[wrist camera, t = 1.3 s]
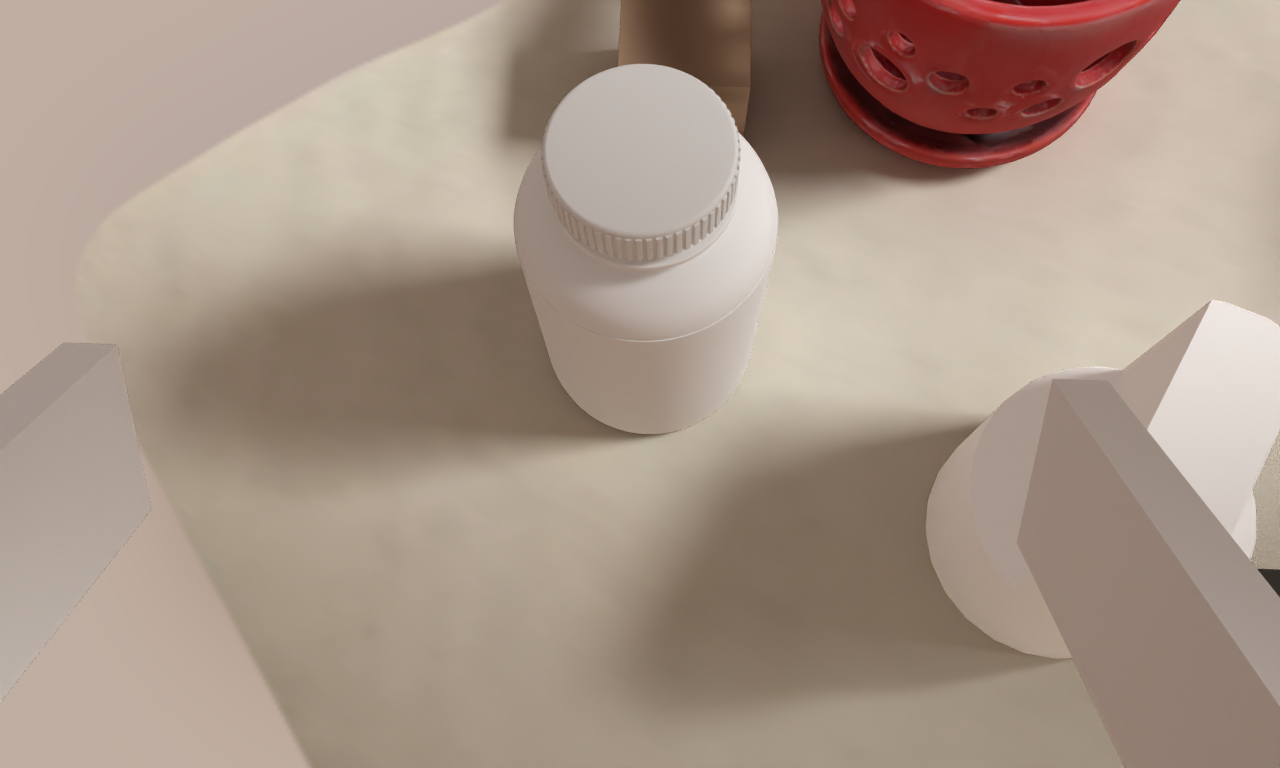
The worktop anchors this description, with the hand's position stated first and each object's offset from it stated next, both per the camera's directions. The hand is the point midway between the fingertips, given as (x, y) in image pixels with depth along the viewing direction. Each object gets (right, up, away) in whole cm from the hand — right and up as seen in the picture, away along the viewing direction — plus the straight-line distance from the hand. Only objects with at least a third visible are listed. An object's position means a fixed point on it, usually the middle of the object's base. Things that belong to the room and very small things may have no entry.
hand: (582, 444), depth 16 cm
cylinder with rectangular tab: (+16, -5, +25) cm, 30 cm away
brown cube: (+3, +13, +31) cm, 33 cm away
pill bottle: (+1, +2, +27) cm, 28 cm away
